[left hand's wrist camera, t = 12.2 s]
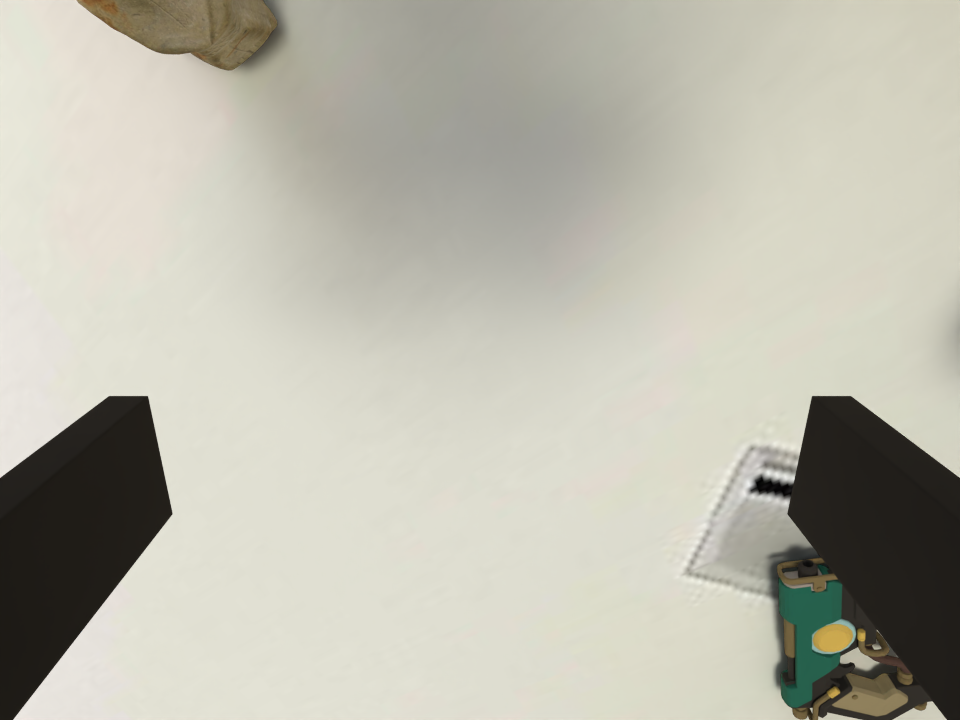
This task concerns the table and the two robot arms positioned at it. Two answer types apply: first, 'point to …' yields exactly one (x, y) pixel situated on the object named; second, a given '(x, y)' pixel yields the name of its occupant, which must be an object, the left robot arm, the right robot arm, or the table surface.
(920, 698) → the spray gun
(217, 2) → the sculpture
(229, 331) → the table surface
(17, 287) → the table surface
